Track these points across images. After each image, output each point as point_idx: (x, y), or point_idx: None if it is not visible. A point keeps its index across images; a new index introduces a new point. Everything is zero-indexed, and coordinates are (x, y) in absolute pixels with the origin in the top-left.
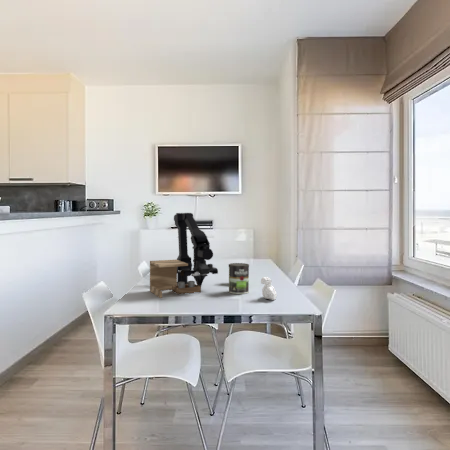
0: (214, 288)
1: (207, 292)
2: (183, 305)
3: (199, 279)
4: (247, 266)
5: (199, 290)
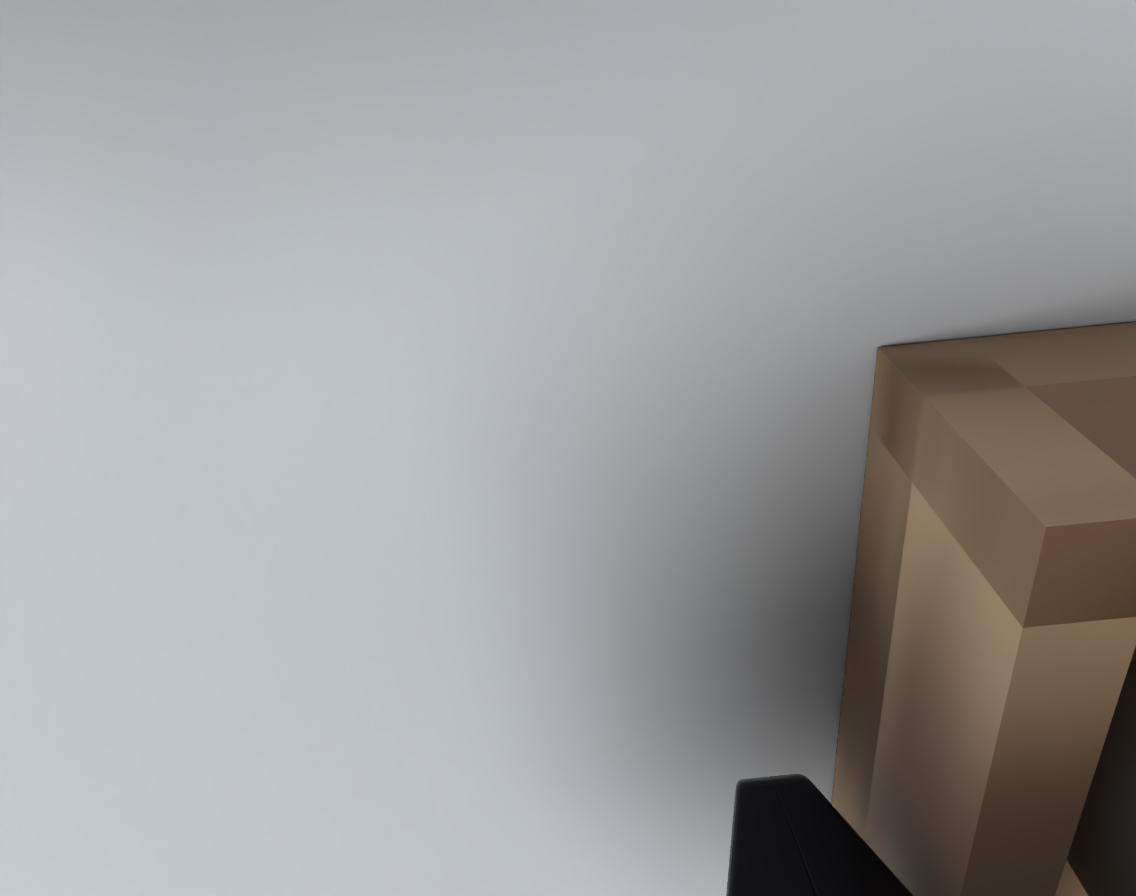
0: (6, 879)
1: (537, 185)
2: None
3: None
4: None
5: (1021, 382)
